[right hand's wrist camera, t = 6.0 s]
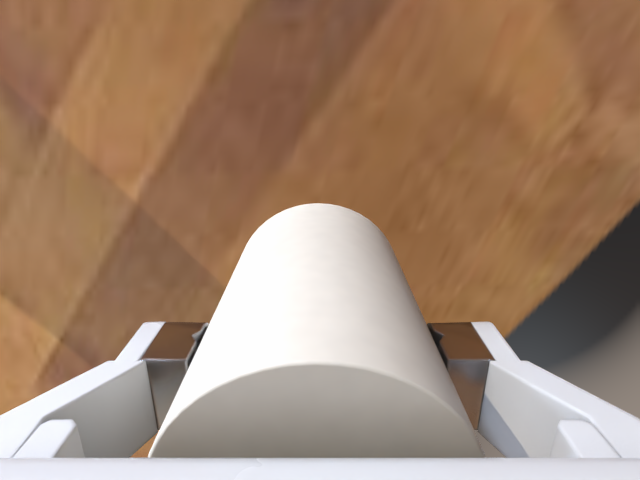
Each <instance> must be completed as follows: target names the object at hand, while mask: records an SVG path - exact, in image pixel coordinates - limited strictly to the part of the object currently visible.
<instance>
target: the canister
mask: <svg viewBox="0 0 640 480" xmlns="http://www.w3.org/2000/svg"><path fill="white" fill-rule="evenodd" d="M148 458H486V457H485V454H484V451H483V449H482V446H481V444H480V442H479V440H478V438H477V435H476V433H475V431H474V429H473V426H472V424H471V422H470V420H469V418H468V415H467V413H466V411H465V409H464V406H463V404H462V402H461V400H460V398H459V395H458V393H457V391H456V389H455V387H454V384H453V382H452V380H451V378H450V375H449V373H448V371H447V369H446V367H445V364H444V362H443V360H442V358H441V355H440V353H439V351H438V349H437V347H436V344H435V342H434V340H433V338H432V336H431V333H430V331H429V329H428V327H427V324H426V322H425V320H424V318H423V316H422V313H421V311H420V309H419V307H418V304H417V302H416V300H415V298H414V296H413V293H412V291H411V289H410V287H409V285H408V282H407V280H406V278H405V276H404V273H403V271H402V269H401V267H400V265H399V262H398V260H397V258H396V256H395V253H394V251H393V249H392V247H391V245H390V243H389V241H388V240H387V238H386V237H385V235H384V234H383V233H382V232H381V231H380V229H379V228H378V227H377V226H376V225H375V224H373V223H372V222H371V221H370V220H369V219H367V218H366V217H364V216H362V215H361V214H359V213H357V212H355V211H353V210H351V209H348V208H345V207H341V206H337V205H332V204H321V203H315V204H305V205H300V206H295V207H292V208H289V209H286V210H284V211H282V212H280V213H278V214H276V215H274V216H273V217H271V218H270V219H268V220H267V221H266V222H265V223H264V224H262V225H261V226H260V227H259V228H258V229H257V230H256V232H255V233H254V234H253V235H252V237H251V238H250V240H249V241H248V243H247V245H246V247H245V249H244V251H243V253H242V255H241V258H240V260H239V262H238V264H237V266H236V268H235V270H234V273H233V275H232V277H231V279H230V281H229V283H228V285H227V287H226V290H225V292H224V294H223V296H222V298H221V300H220V302H219V304H218V307H217V309H216V311H215V313H214V315H213V317H212V319H211V322H210V324H209V326H208V328H207V330H206V332H205V334H204V336H203V339H202V341H201V343H200V345H199V347H198V349H197V351H196V354H195V356H194V358H193V360H192V362H191V364H190V366H189V368H188V371H187V373H186V375H185V377H184V379H183V381H182V383H181V385H180V388H179V390H178V392H177V394H176V396H175V398H174V400H173V403H172V405H171V407H170V409H169V411H168V413H167V415H166V417H165V420H164V422H163V424H162V426H161V428H160V430H159V432H158V434H157V437H156V439H155V441H154V443H153V446H152V448H151V450H150V452H149V455H148Z"/></svg>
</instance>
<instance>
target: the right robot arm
mask: <svg viewBox="0 0 640 480" xmlns="http://www.w3.org/2000/svg"><path fill="white" fill-rule="evenodd" d="M208 326H209V324H208V323H195V322H146V323H143V324H142V326H141V327H140V328H139V330H138V331H137V332H136V334H135V335H134V336H133V337H132V339H131V340H130V341H129V343H128V344H127V345H126V347H125V348H124V349H123V351H122V352H121V353H120V355H119V356H118V357H117V359H116V360H115V361H107V362H105V363H103V364H101V365H99V366H97V367H95V368H93V369H91V370H89V371H87V372H85V373H83V374H81V375H79V376H77V377H75V378H73V379H71V380H69V381H67V382H65V383H64V384H62V385H60V386H58V387H56V388H54V389H52V390H50V391H48V392H46V393H44V394H42V395H40V396H38V397H36V398H34V399H32V400H30V401H28V402H26V403H24V404H22V405H20V406H18V407H16V408H14V409H12V410H10V411H8V412H6V413H4V414H2V415H1V416H0V480H640V419H639V418H637V417H635V416H633V415H631V414H630V413H628V412H626V411H624V410H622V409H620V408H618V407H616V406H614V405H612V404H610V403H608V402H606V401H604V400H602V399H600V398H598V397H597V396H595V395H593V394H591V393H589V392H587V391H585V390H583V389H581V388H579V387H577V386H575V385H573V384H571V383H569V382H567V381H565V380H563V379H561V378H560V377H558V376H556V375H554V374H552V373H550V372H548V371H546V370H544V369H542V368H540V367H538V366H536V365H534V364H532V363H530V362H529V361H520V359H519V358H518V357H517V355H516V354H515V353H514V351H513V350H512V349H511V347H510V346H509V345H508V343H507V342H506V341H505V339H504V338H503V337H502V335H501V334H500V333H499V331H498V330H497V329H496V327H495V326H494V325H493V323H491V322H459V323H428V324H427V327H428V329H429V331H430V333H431V336H432V338H433V340H434V342H435V344H436V347H437V349H438V351H439V353H440V355H441V358H442V360H443V362H444V364H445V367H446V369H447V371H448V373H449V375H450V378H451V380H452V382H453V384H454V387H455V389H456V391H457V393H458V395H459V398H460V400H461V402H462V404H463V406H464V409H465V411H466V413H467V415H468V418H469V420H470V422H471V424H472V426H473V429H474V430H478V432H479V433H480V434H481V435H482V436H483V437H484V438H485V439H486V440H487V441H489V442H490V443H491V444H492V445H493V446H494V447H495V448H496V449H497V450H498V451H500V452H501V453H502V454H503V455H504V456H505V457H506V458H129V457H131V456H132V455H133V454H134V453H135V452H136V451H137V450H138V449H139V448H141V447H142V446H143V445H144V444H145V443H146V442H147V441H148V440H149V439H151V438H152V437H153V436H154V435H155V434H156V433H157V432H158V430H160V428H161V426H162V424H163V422H164V420H165V417H166V415H167V413H168V411H169V409H170V407H171V405H172V403H173V400H174V398H175V396H176V394H177V392H178V390H179V388H180V385H181V383H182V381H183V379H184V377H185V375H186V373H187V371H188V368H189V366H190V364H191V362H192V360H193V358H194V356H195V354H196V351H197V349H198V347H199V345H200V343H201V341H202V339H203V336H204V334H205V332H206V330H207V328H208Z"/></svg>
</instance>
